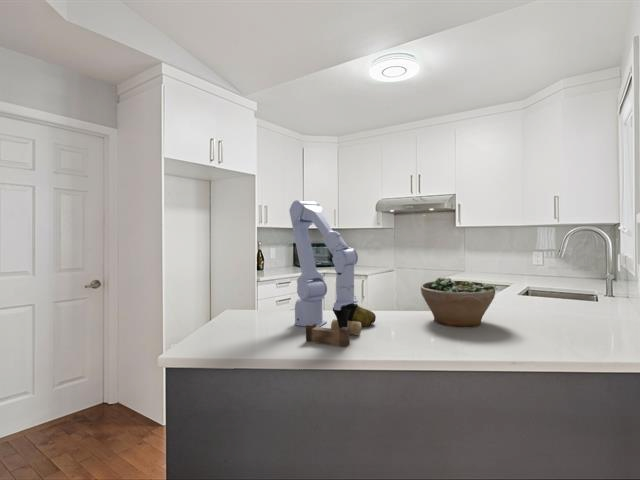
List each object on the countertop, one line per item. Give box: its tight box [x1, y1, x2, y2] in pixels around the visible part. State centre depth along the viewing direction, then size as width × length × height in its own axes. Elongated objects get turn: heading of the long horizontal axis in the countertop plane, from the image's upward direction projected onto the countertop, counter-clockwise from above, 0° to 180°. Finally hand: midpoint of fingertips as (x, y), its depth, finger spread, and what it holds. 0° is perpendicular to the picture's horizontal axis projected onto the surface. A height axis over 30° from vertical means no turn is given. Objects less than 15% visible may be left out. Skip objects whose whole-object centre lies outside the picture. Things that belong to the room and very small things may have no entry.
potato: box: [353, 303, 376, 327], centre depth 131 cm, size 8×13×8 cm, turn 82°
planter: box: [420, 277, 499, 329], centre depth 134 cm, size 26×25×15 cm
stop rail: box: [305, 323, 350, 348], centre depth 111 cm, size 13×3×5 cm, turn 65°
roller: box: [330, 318, 362, 336], centre depth 121 cm, size 9×4×4 cm, turn 65°
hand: (345, 327), depth 121 cm, fingers closed on roller, 4 cm apart
